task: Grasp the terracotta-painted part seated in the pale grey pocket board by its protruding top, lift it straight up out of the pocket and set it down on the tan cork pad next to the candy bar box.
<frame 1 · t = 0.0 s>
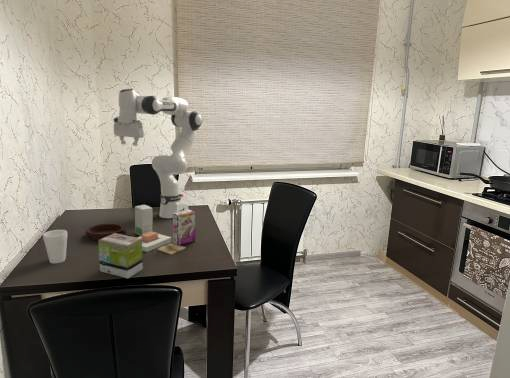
hand: (129, 145, 199), 48 cm above the table, fingers open, 8 cm apart
skincare box: (144, 234, 200), on the table
cork pad: (171, 249, 180), on the table
foam cup: (57, 260, 163), on the table
pocket board: (149, 243, 186), on the table
part: (149, 244, 186), resting in pocket board
dish: (105, 237, 194), on the table
tea box: (121, 271, 155), on the table
candy bar box: (184, 242, 189), on the table
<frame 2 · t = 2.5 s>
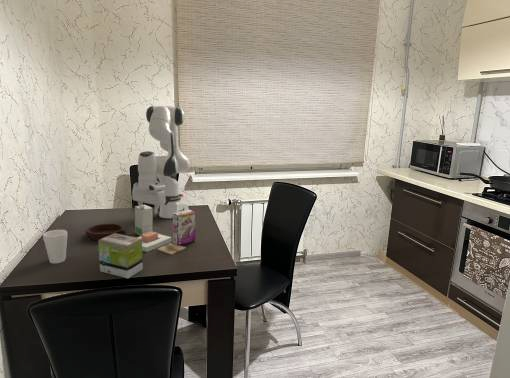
hand: (148, 211, 182), 17 cm above the table, fingers open, 8 cm apart
nothing on the table moved.
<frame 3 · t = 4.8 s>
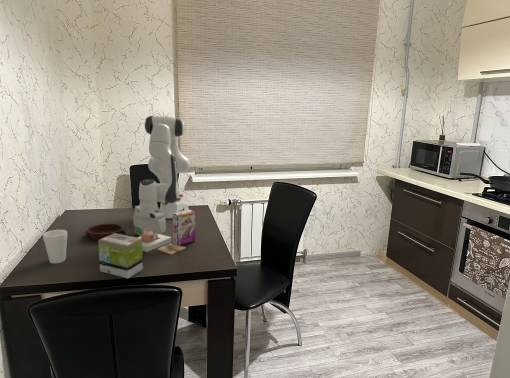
hand: (149, 237, 185), 3 cm above the table, fingers closed on part, 4 cm apart
part: (149, 243, 186), resting in pocket board, touching gripper
everything else where it was.
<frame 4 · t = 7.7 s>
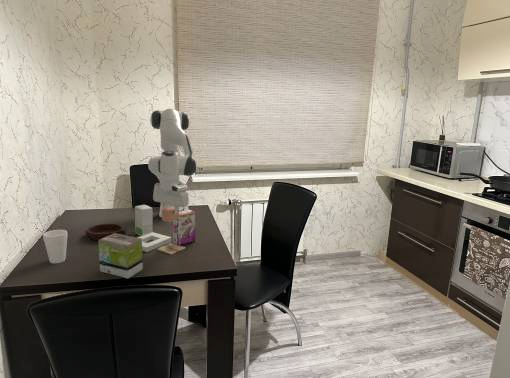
hand: (170, 212, 176), 19 cm above the table, fingers closed on part, 4 cm apart
part: (170, 219, 176), point 15 cm above the table, touching gripper
everything else where it was.
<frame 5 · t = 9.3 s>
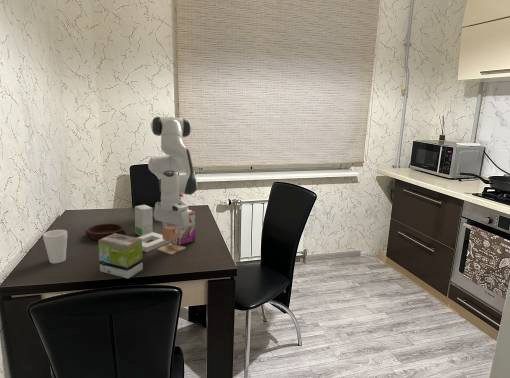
hand: (171, 231, 178), 9 cm above the table, fingers closed on part, 4 cm apart
part: (171, 238, 178), point 6 cm above the table, touching gripper
everything else where it was.
when the fingers open (6 cm above the table, at t = 10.9 s): part drops 1 cm, resting on cork pad.
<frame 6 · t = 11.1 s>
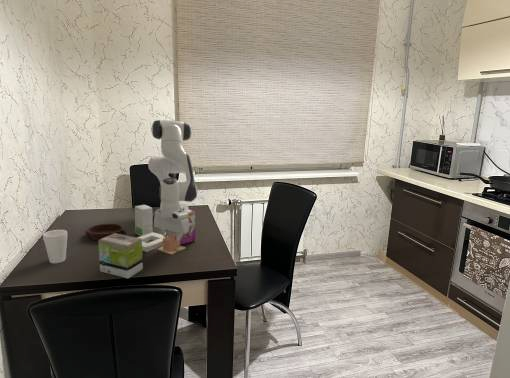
hand: (171, 238, 179), 6 cm above the table, fingers open, 7 cm apart
part: (171, 248, 180), point 1 cm above the table, touching cork pad
everything else where it was.
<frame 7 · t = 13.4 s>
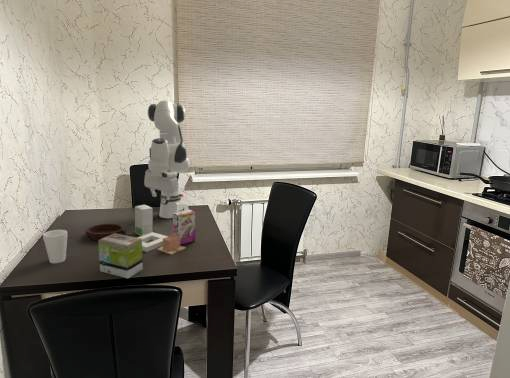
hand: (161, 198, 184), 24 cm above the table, fingers open, 8 cm apart
nothing on the table moved.
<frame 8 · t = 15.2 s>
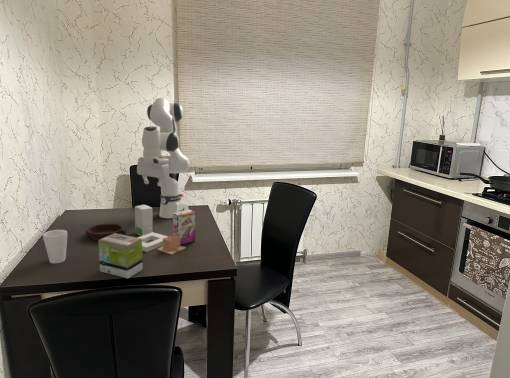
hand: (152, 184, 189), 29 cm above the table, fingers open, 8 cm apart
nothing on the table moved.
at the end: part inside the target area on the cork pad (0.1 cm from its centre), point 0.6 cm above the cork pad's base; part tilted 0°; the gripper is holding nothing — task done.
